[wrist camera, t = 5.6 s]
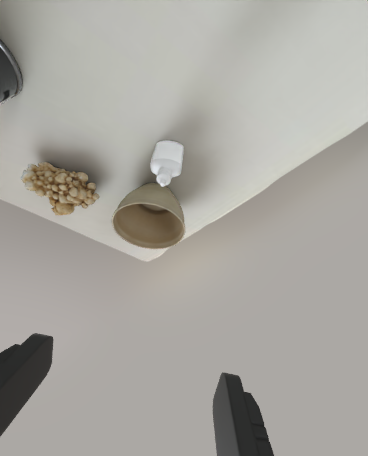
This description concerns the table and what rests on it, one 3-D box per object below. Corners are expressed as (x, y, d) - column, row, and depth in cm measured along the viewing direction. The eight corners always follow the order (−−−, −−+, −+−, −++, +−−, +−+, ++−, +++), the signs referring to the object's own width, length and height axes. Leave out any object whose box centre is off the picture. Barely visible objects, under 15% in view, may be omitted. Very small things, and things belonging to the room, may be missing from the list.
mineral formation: (27, 155, 41) (91, 157, 39) (65, 195, 52) (115, 197, 51) (6, 182, 37) (76, 185, 35) (51, 219, 48) (106, 222, 47)
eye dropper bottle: (163, 130, 35) (153, 166, 28) (187, 147, 38) (184, 184, 30) (152, 148, 38) (141, 185, 31) (175, 163, 41) (170, 200, 33)
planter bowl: (122, 210, 53) (111, 241, 46) (127, 161, 41) (112, 193, 34) (177, 224, 56) (174, 255, 49) (196, 182, 44) (195, 215, 37)
